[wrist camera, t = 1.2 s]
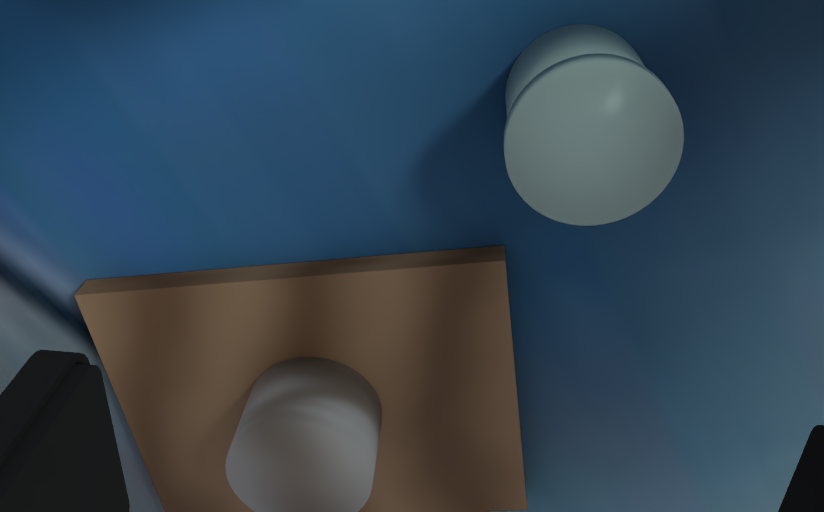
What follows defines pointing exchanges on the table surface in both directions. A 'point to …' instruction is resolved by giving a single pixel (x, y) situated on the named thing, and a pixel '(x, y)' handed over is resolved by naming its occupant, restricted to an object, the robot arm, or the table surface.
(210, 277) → the stud board
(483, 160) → the table surface
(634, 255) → the table surface
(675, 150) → the cap
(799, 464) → the robot arm
